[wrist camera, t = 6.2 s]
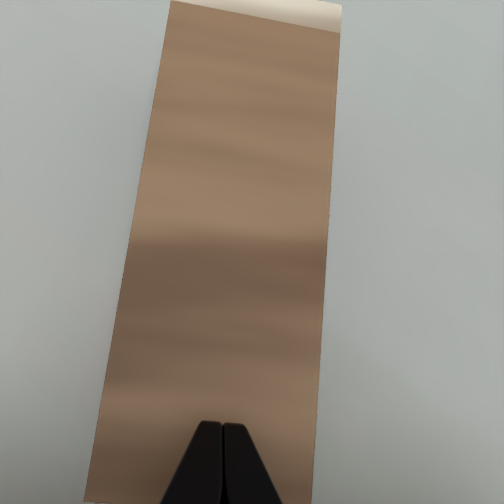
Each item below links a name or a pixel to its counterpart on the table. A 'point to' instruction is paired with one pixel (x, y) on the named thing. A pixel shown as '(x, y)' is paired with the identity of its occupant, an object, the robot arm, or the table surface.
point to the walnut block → (225, 248)
